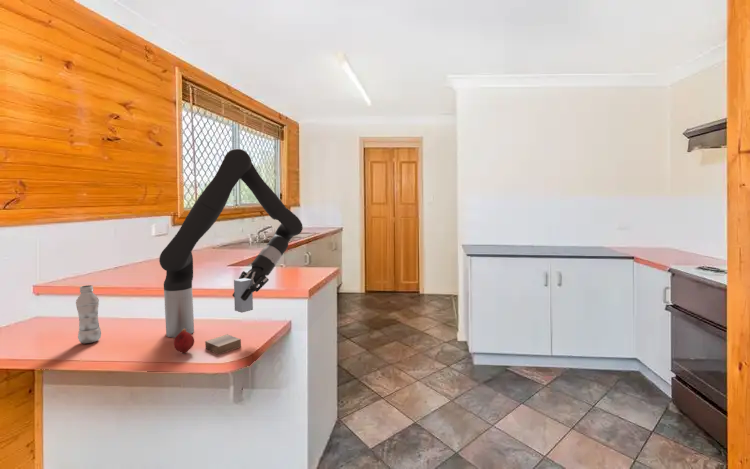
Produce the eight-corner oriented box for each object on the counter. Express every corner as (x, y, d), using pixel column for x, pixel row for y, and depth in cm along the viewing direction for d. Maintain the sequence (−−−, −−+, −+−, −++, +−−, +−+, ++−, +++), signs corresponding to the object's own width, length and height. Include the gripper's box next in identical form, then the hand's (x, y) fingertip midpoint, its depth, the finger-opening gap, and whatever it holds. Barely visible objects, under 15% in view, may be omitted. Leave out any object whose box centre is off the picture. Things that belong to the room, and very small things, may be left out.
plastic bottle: (100, 337, 131) (96, 283, 130) (103, 342, 127) (99, 286, 125) (77, 342, 127) (73, 286, 125) (79, 347, 122) (75, 289, 121)
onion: (185, 357, 113) (184, 332, 113) (170, 356, 114) (168, 331, 114) (198, 350, 119) (197, 326, 118) (183, 349, 120) (182, 325, 119)
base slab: (205, 350, 120) (205, 341, 120) (227, 342, 127) (227, 334, 126) (218, 355, 115) (218, 346, 115) (241, 347, 122) (240, 339, 122)
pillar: (234, 310, 128) (233, 279, 127) (245, 307, 131) (245, 277, 130) (241, 312, 125) (241, 281, 124) (252, 309, 128) (252, 279, 128)
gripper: (249, 252, 137) (220, 289, 128) (273, 255, 128) (243, 295, 119) (261, 264, 141) (234, 300, 133) (285, 268, 133) (257, 307, 124)
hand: (238, 298), depth 126 cm, fingers closed on pillar, 4 cm apart
